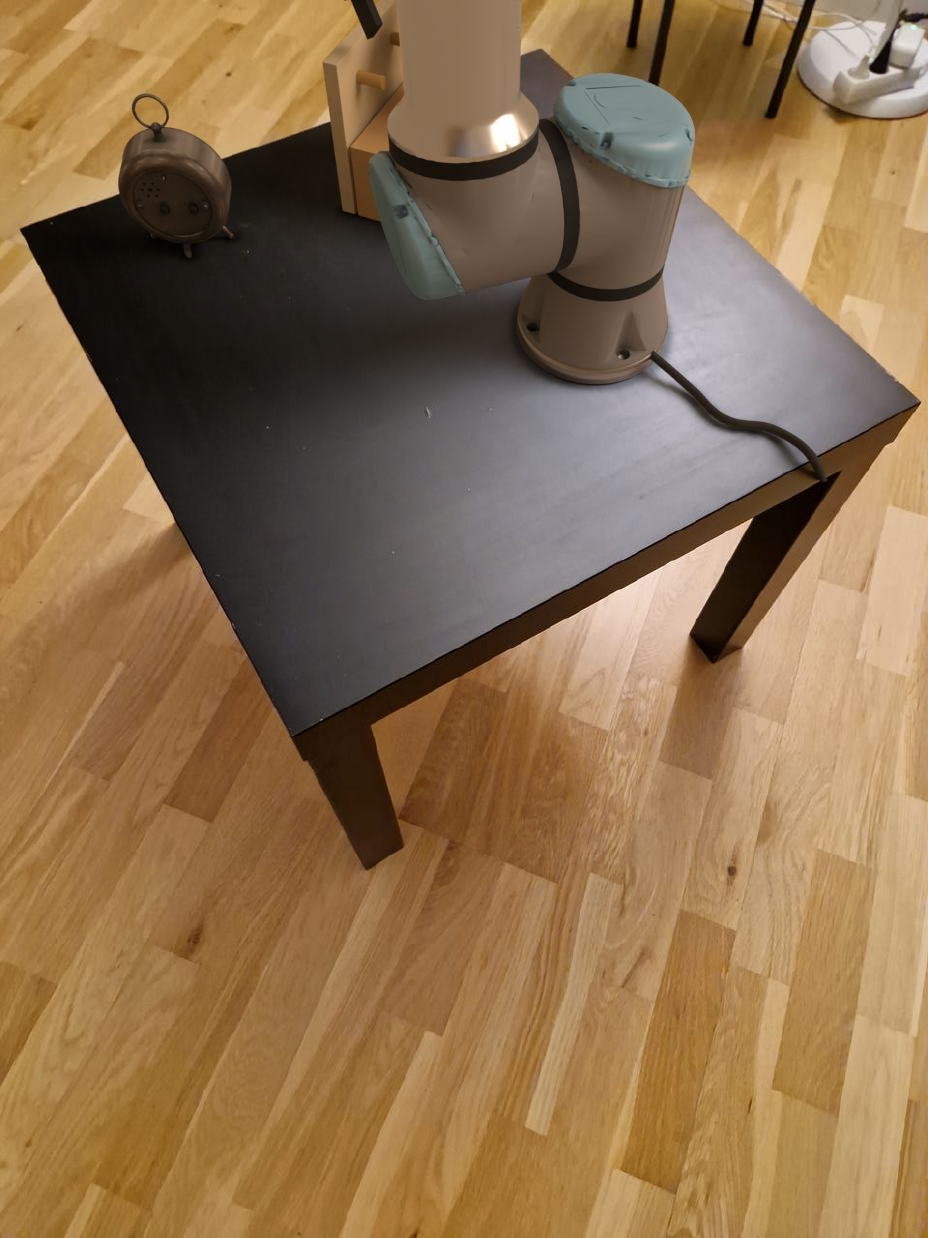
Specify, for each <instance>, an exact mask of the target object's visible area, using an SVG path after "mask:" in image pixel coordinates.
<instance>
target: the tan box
mask: <svg viewBox="0 0 928 1238" xmlns="http://www.w3.org/2000/svg"><path fill="white" fill-rule="evenodd" d="M375 6H376V8H377V11H378V13H379V15H380V18H381V20H382V23H383V25H382V26H381V28H380V29H379V30H378V32H377V33H376V35H375V36H374V37H373V38H371V39H368V40H367V38H366V35H365V33H364V31H363V28H362V26H361V24H360V21H359V22H357V24H356V25H355V26H354V27H353V28H352V29H351V30H350V31H349V32H348V34H346V36H345V37H344V38H343V39H342V40H341V41H340V42H339V43H337V45H336V46H335V47H334V49H332V51H330V52H329V54H328V55H327V56H326V57H325V58H324V59H323V61H322V62H321V63H322V70H323V76H324V77H323V78H324V85H325V92H326V100H327V106H328V113H329V121H330V127H331V128H330V129H331V133H332V134H331V135H332V143H333V150H334V157H335V164H336V172H337V179H338V186H339V193H340V200H341V208H342V211H343V212H346V213H350V214H353V215H356V214H357V215H358V216H360V217H364V218H367V219H370V220H374V221H378V222H380V223H381V221H380V218H379V214H378V211H377V208H376V204H375V200H374V197H373V193H372V188H371V183H370V178H369V160H370V158H371V157H372V156H373V155H375V154H377V153H378V152H379V151H389V140H388V132H387V120H388V117H389V114H390V113H391V111H392V110H393V109H394V107H395V106H396V105H397V104H398V103H399V101H400V100H401V99H402V98H403V97H404V87H403V75H402V63H401V52H400V40H399V28H398V17H397V5H396V0H378V1H377V2H376V3H375ZM526 98H527V99H528V100H529V98H528V97H526Z"/></svg>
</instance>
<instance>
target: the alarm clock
mask: <svg viewBox="0 0 928 1238" xmlns="http://www.w3.org/2000/svg"><path fill="white" fill-rule="evenodd" d="M144 98H150V99H153V100H155V101H157V102H158V103H159V105H160V106H162V108H163V109H164V111H165V120H164V122H163V123H162V124H161V123H159V122H158V121H154V122H152V123H151V124H150V125H149V124H146V123H145V122H144V121H142V120H141V119H140V117H139V116H138V114H137V112H136V111H137V110H136V107H137V104H138V102H139V101H140V100H141V99H144ZM131 112H132V114H133V116H134V118H135V120H136V121H137V122H138V123H139V124H140V125H141V126H143V127H144V128H145V129H143V130H141V131H139V132H137V133H135V134H134V135H133V136H131V138H130V139H129V140H128V141H127V143H126V145H125V147H124V149H123V151H122V156H121V161H120V162H121V163H120V168H119V172H118V178H117V186H118V193H119V197H120V200H121V202H122V204H123V206H124V208H125V209H126V211H127V212H128V214H129V215H130V217H131V218H132V219H133V220H134V221H135V222H136V223H137V224H138V225H139V226H140V227H142V228H143V229H144V230H146V231H147V232H148V233H150V237H151V239H152V240H156V239H157V238H160V239H162V240H165V241H168V242H171V243H177V244H181V245H182V248H183V251H184V255H185V256H186V258H192V250H191V249H192V248H191V245H192V244H199V243H202V242H205V241H208V240H210V239H212V238H213V237H214V236H216V235H217V234H218V233H219V232H220V233H223V234H225V235H226V236H227V238H228V239H230V240H232V239H233V238H234V234H233V233H232V232H230V230H229V229H228V227H227V226H225V225H226V222H227V220H228V216H229V211H230V203H231V197H232V196H231V195H232V180H231V175H230V172H229V169H228V168H227V166H226V164H225V162H224V160H223V159H222V157H221V156H220V154H218V152H217V151H216V150H215V149H214V148H213V147H212V146H211V145H210V144H209V143H207V142H206V141H205V140H203V139H201V138H200V137H198V136H196V135H195V134H193V133H191V132H189V131H186V130H183V129H181V128H176V127H172V126H171V127H170V126H167V124H168V122H169V119H170V112H169V108H168V106H167V104H166V103H165V102H164V101H163V100H162V99H161V98H160V97H159V96H157V95H155V94H152V93H140V94H138V95H137V96H135V98H134V99H133V101H132V102H131Z"/></svg>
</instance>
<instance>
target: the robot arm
mask: <svg viewBox="0 0 928 1238" xmlns="http://www.w3.org/2000/svg"><path fill="white" fill-rule="evenodd" d="M343 1H344V2H346V1H347V0H343ZM522 1H523V0H396V5H397V17H398V28H399V40H400V52H401V63H402V75H403V87H404V97H403V98H402V99H401V100H400V101H399V103H398V104H397V105H396V106H395V107H394V109H393V110H392V111H391V113H390V114H389V117H388V120H387V132H388V140H389V151H379V152H378V153H377V154H375V155H373V156H372V157H371V158H370V160H369V178H370V183H371V188H372V193H373V197H374V200H375V204H376V208H377V211H378V214H379V218H380V221H381V222H380V221H379V222H380V225H381V227H382V230H383V234H384V236H385V238H386V239H385V240H386V242H387V244H388V245H387V246H388V247H389V250H390V252H391V253H390V254H391V255H392V257H393V261H394V262H395V265H396V268H397V269H398V271H399V272H398V273H400V276H401V278H402V279H403V282H404V283H405V285H406V286H407V288H408V289H409V291H410V292H411V293H412V294H413V295H414V296H416V297H417V298H418V299H421V300H423V301H424V300H425V301H435V300H439V299H445V298H450V297H455V296H459V297H461V298H463V297H466V296H467V294H469V293H474V292H477V291H481V290H486V289H490V288H493V287H497V286H501V285H505V284H509V283H513V282H518V281H522V280H525V279H529V278H530V280H529V282H528V284H527V286H526V288H525V290H524V292H523V294H522V295H521V298H520V300H519V303H518V307H517V315H516V316H517V318H516V335H517V339H518V342H519V344H520V346H521V348H522V350H523V351H524V353H525V355H526V356H528V358H529V359H530V360H531V361H532V362H533V363H534V364H535V365H537V366H538V367H539V368H541V369H542V370H544V371H546V372H547V373H549V374H551V375H553V376H556V377H558V378H560V379H564V380H566V381H570V382H575V383H580V384H587V385H605V384H613V383H617V382H621V381H626V380H628V379H631V378H634V377H635V376H637V375H639V374H641V373H643V372H644V371H646V370H647V369H648V368H650V366H652V364H655V365H656V366H657V367H659V368H660V369H661V370H662V371H663V372H665V373H666V374H667V375H668V376H669V377H670V378H671V379H673V380H674V382H676V383H677V384H678V385H679V386H681V387H682V388H683V389H684V390H685V391H686V392H687V393H688V394H690V396H691V397H693V398H694V400H696V401H697V402H698V404H699V405H700V406H701V407H702V409H704V411H706V413H708V414H709V415H710V416H711V417H712V418H713V419H715V420H717V421H718V422H720V423H721V424H723V425H725V426H729V427H730V428H731V427H732V428H736V429H742V430H752V431H761V432H766V433H769V434H772V435H774V436H775V437H778V438H780V439H781V440H783V441H785V442H787V443H789V444H790V445H792V447H795V448H796V449H797V450H798V451H800V452H801V454H802V455H803V456H804V457H805V458H806V459H807V461H808V462H809V464H810V466H811V468H812V469H813V472H814V474H815V477H816V479H817V480H818V481H819V482H822V483H826V482H827V481H828V477H827V473H826V472H825V469H824V466H823V465H822V462H821V461H820V458H819V457H818V455H817V454H816V452H815V451H814V450H813V449H812V447H810V445H808V444H807V443H806V442H805V441H804V440H802V439H801V438H800V437H798V436H797V435H795V434H793V432H790V431H789V430H787V429H785V428H783V427H780V426H779V425H776V424H773V423H771V422H767V421H760V420H751V419H750V420H749V419H740V418H736V417H733V416H730V415H727V414H726V413H724V412H722V411H721V410H720V409H718V408H717V407H716V406H714V404H712V402H711V401H710V400H709V399H708V398H707V396H705V395H704V393H703V392H701V390H700V389H698V388H697V386H695V385H694V384H693V383H692V382H691V381H690V380H688V378H686V377H685V376H684V375H683V374H682V373H680V372H679V371H678V370H677V369H676V368H675V367H674V366H673V365H672V364H670V362H668V361H667V360H666V359H664V357H663V356H661V355H660V354H661V352H662V349H663V347H664V344H665V341H666V336H667V333H668V329H669V315H668V308H667V301H666V299H667V298H666V292H665V284H664V283H665V282H664V275H663V274H664V271H665V266H666V262H667V258H668V254H669V250H670V246H671V242H672V239H673V235H674V232H675V227H676V222H677V219H678V215H679V211H680V207H681V203H682V200H683V196H684V191H685V187H686V184H687V183H688V182H689V180H690V176H691V173H692V172H691V168H692V167H691V166H692V161H693V154H694V149H695V148H694V147H695V143H696V129H695V125H694V122H693V119H692V116H691V115H690V113H689V112H688V110H687V108H686V107H685V106H684V104H682V103H681V102H680V101H679V100H678V99H677V98H676V97H675V96H673V94H671V93H670V92H668V91H667V90H665V89H664V88H661V86H657V85H655V84H653V83H651V82H649V81H646V80H644V79H640V78H637V77H634V76H631V75H626V74H619V73H610V72H597V73H588V74H582V75H580V76H577V77H575V78H572V79H571V80H569V81H568V82H566V84H565V85H564V86H563V87H561V89H560V90H559V92H558V93H557V97H556V99H555V100H554V104H553V107H552V109H553V110H552V111H553V115H552V116H549V117H545V118H540V115H539V112H538V110H537V107H536V106H535V105H534V104H533V102H531V100H530V99H529V98H528V97H527V96H526V95H525V94H524V93H523V92H522V91H521V55H522V54H521V52H522V50H521V49H522V7H523V6H522V4H523V3H522ZM350 2H351V5H352V6H353V9H354V12H355V14H356V16H357V19H358V21H359V22H360V24H361V26H362V28H363V31H364V33H365V35H366V38H367V40H368V39H371V38H373V37H374V36H375V35H376V33H377V32H378V30H379V29H380V28H381V26H382V25H383V23H382V20H381V18H380V15H379V13H378V11H377V8H376V6H375V5H376V3H375V1H374V0H350ZM527 98H528V99H527Z"/></svg>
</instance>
